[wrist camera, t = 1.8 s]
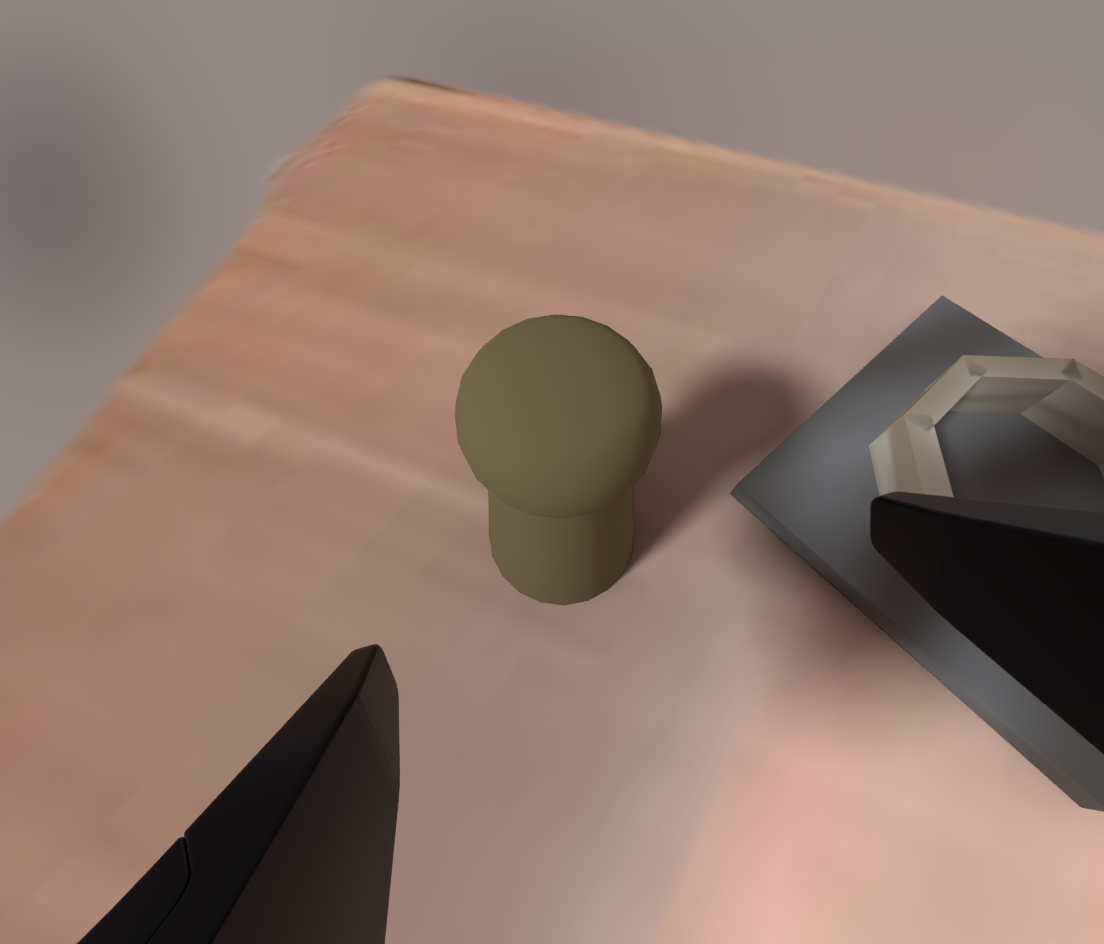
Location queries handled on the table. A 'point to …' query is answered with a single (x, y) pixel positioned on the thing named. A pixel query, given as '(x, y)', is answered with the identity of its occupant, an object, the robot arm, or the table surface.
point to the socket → (945, 470)
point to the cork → (559, 451)
